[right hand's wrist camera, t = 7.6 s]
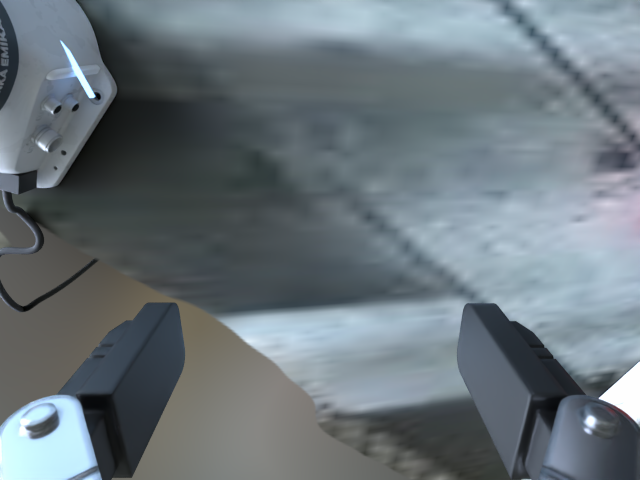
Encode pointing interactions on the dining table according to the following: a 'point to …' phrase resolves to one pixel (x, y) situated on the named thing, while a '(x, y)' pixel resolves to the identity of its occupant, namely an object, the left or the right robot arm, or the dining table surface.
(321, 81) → the dining table surface
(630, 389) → the relief map
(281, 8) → the dining table surface
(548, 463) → the right robot arm
